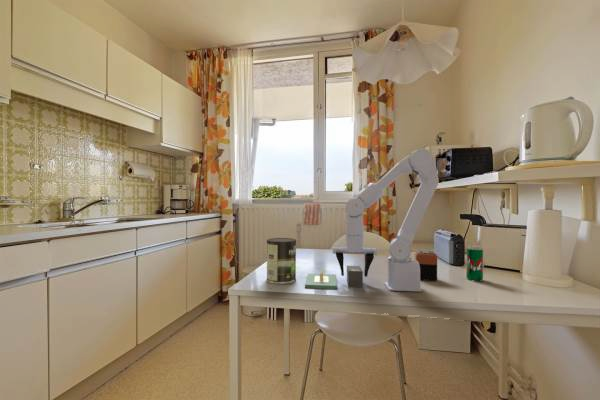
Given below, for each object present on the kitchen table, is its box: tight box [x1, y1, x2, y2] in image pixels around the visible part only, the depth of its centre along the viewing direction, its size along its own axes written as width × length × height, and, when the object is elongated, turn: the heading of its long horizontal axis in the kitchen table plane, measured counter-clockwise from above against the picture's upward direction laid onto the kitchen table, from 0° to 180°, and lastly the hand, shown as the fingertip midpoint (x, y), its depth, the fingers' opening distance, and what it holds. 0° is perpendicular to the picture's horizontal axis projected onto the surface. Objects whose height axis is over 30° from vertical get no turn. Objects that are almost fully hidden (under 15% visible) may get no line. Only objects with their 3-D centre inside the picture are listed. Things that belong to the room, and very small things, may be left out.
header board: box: [304, 269, 338, 290], centre depth 97 cm, size 10×14×4 cm
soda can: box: [465, 244, 484, 282], centre depth 102 cm, size 5×5×12 cm
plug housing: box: [346, 265, 364, 288], centre depth 96 cm, size 5×8×5 cm, turn 174°
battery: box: [414, 250, 438, 282], centre depth 102 cm, size 4×7×10 cm, turn 74°
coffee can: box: [266, 237, 297, 285], centre depth 100 cm, size 10×10×14 cm
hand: (354, 275), depth 96 cm, fingers open, 7 cm apart
